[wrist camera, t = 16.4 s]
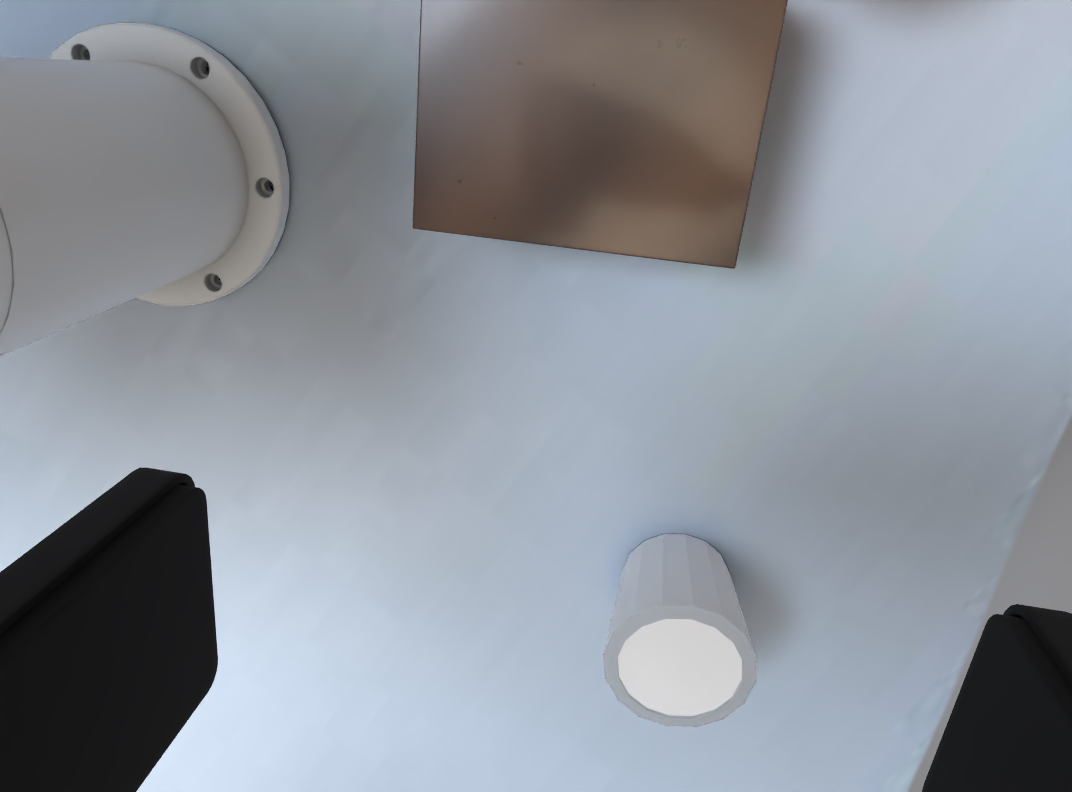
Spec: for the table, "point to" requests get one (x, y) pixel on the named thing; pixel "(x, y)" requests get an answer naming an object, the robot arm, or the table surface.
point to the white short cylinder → (678, 635)
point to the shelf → (594, 122)
